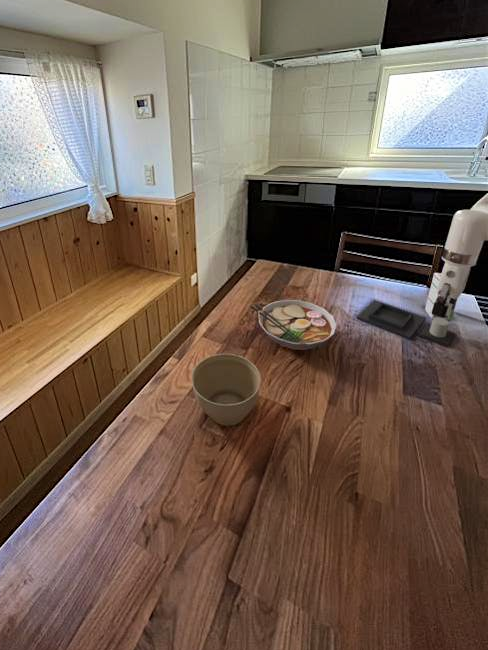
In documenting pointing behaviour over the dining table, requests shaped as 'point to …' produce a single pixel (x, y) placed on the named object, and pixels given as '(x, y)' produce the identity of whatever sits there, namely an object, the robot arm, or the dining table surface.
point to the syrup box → (433, 297)
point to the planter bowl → (226, 387)
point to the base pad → (391, 319)
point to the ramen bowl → (296, 323)
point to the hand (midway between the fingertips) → (443, 308)
